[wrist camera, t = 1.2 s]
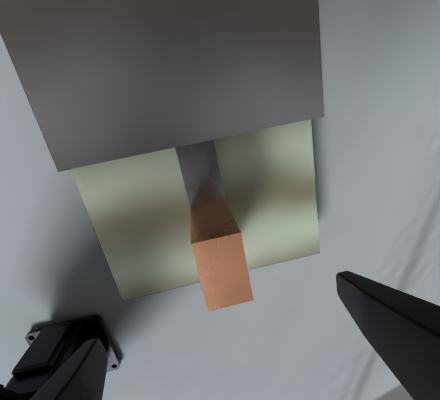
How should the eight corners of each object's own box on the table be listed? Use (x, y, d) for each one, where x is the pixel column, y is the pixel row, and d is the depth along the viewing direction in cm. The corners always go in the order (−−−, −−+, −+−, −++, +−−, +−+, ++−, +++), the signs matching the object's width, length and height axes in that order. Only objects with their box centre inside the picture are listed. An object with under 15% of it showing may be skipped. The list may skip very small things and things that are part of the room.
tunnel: (303, 236, 22) (387, 319, 13) (131, 277, 21) (86, 399, 12) (270, -132, 14) (428, -627, 5) (-5, -93, 13) (-470, -614, 4)
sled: (256, 241, 18) (286, 291, 13) (178, 259, 18) (174, 320, 12) (215, -15, 13) (235, -117, 8) (105, 3, 13) (42, -89, 7)
